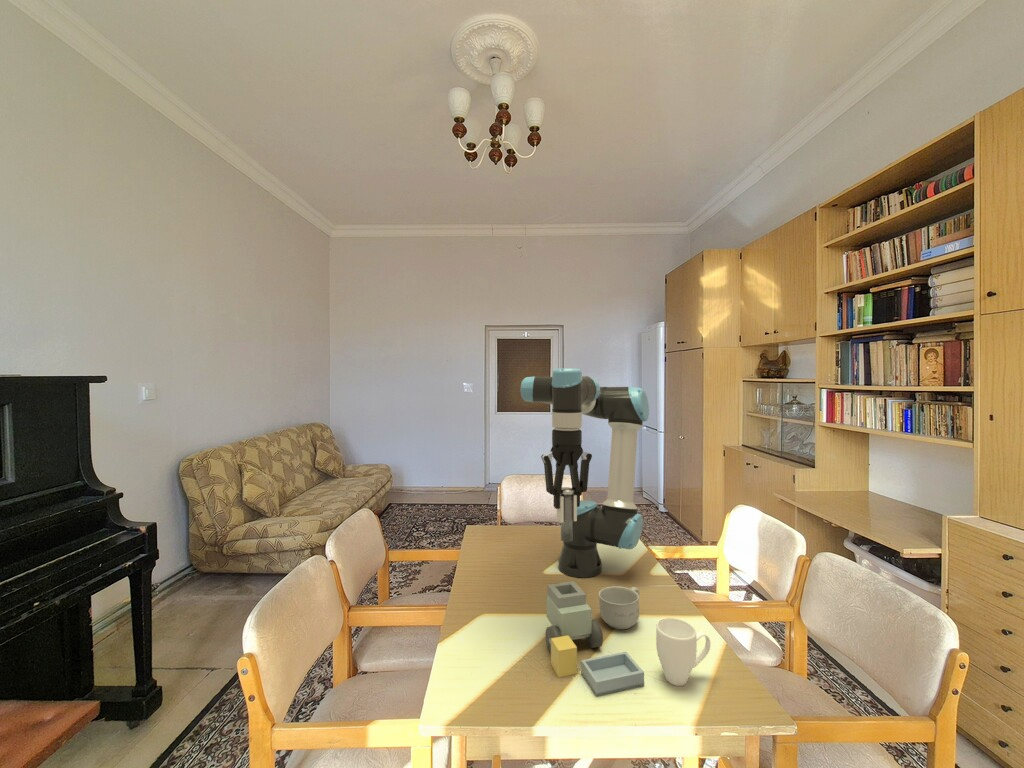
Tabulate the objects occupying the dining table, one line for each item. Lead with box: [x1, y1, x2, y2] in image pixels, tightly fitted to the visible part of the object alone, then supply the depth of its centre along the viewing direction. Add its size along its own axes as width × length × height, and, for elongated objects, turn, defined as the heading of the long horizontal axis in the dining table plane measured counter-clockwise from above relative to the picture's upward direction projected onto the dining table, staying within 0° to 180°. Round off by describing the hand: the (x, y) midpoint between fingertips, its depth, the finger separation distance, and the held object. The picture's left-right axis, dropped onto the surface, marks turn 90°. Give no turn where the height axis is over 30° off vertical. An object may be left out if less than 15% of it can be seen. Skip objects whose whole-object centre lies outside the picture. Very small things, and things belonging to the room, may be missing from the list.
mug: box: [655, 617, 711, 687], centre depth 96 cm, size 12×8×11 cm
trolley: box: [545, 580, 604, 655], centre depth 109 cm, size 13×12×12 cm
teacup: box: [598, 585, 640, 630], centre depth 119 cm, size 14×11×8 cm
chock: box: [550, 635, 578, 678], centre depth 99 cm, size 4×5×6 cm
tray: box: [580, 651, 645, 698], centre depth 95 cm, size 11×7×3 cm, turn 106°
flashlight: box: [560, 486, 574, 542], centre depth 111 cm, size 4×4×13 cm
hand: (566, 520), depth 111 cm, fingers closed on flashlight, 3 cm apart
